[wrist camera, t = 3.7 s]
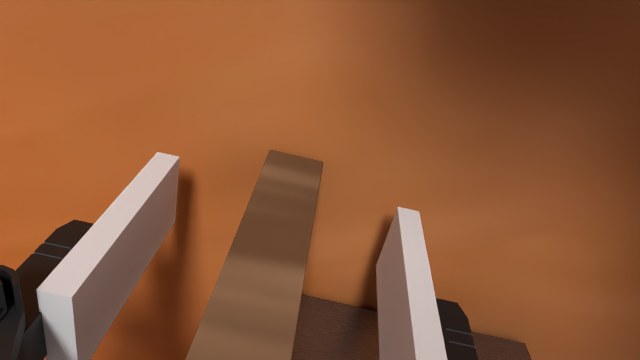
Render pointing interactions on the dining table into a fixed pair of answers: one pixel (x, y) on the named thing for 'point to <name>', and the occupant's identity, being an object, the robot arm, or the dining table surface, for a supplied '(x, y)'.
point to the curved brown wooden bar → (263, 268)
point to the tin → (367, 335)
